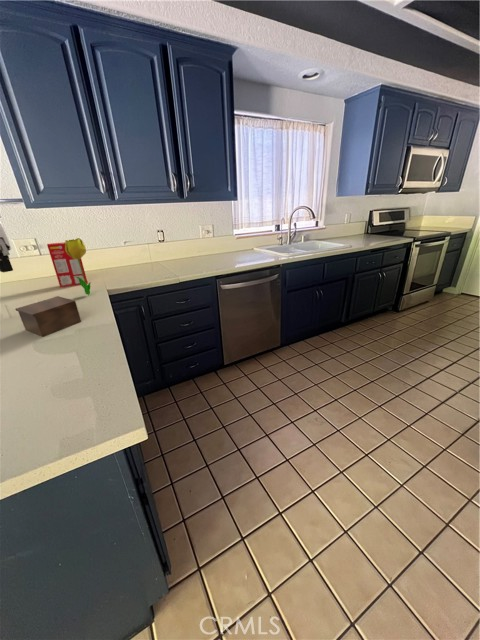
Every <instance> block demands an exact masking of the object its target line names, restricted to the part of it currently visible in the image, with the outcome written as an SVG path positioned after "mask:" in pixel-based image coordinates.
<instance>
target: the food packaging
mask: <svg viewBox="0 0 480 640" xmlns="http://www.w3.org/2000/svg"><path fill="white" fill-rule="evenodd" d="M46 246H47V249H48V252H49V255H50V259H51V262H52V266H53V268H54V272H55V275H56V279H57V282H58V285H59V288H67V287H73V286H81V284H80V282H79V279H78V278H76V277H79V278H81V279H82V280H83V281H84V280H85V282H86V284H87V285H88V284H89V282H88V279H87V276H86V272H85V268H84V263H83V259H82V258H81V259H79V261H80V265H81V268H80V265H79V262H78V259H74V258H72V257H71V256H69V255H68V254H67V253H66V251H65V241H64V242H52V243H47V244H46ZM81 269H82V272H83V275H82V272H81ZM83 276H84V278H83Z"/></svg>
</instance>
